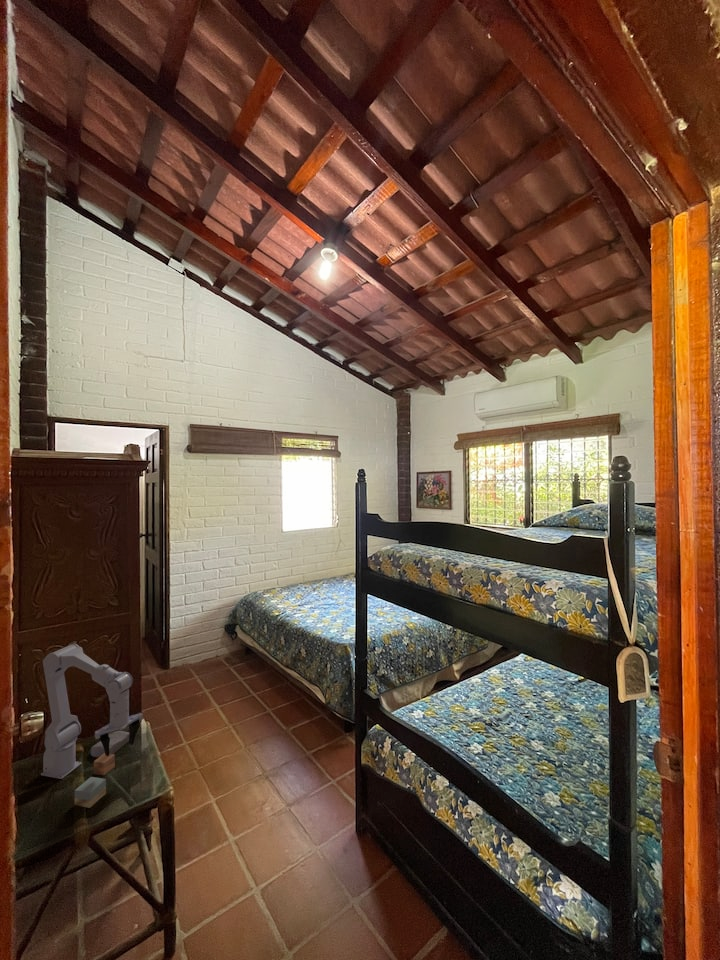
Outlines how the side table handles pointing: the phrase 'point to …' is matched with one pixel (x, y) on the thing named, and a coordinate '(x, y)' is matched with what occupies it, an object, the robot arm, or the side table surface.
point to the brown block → (90, 803)
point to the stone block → (111, 743)
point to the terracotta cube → (104, 764)
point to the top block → (90, 788)
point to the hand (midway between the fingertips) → (119, 748)
